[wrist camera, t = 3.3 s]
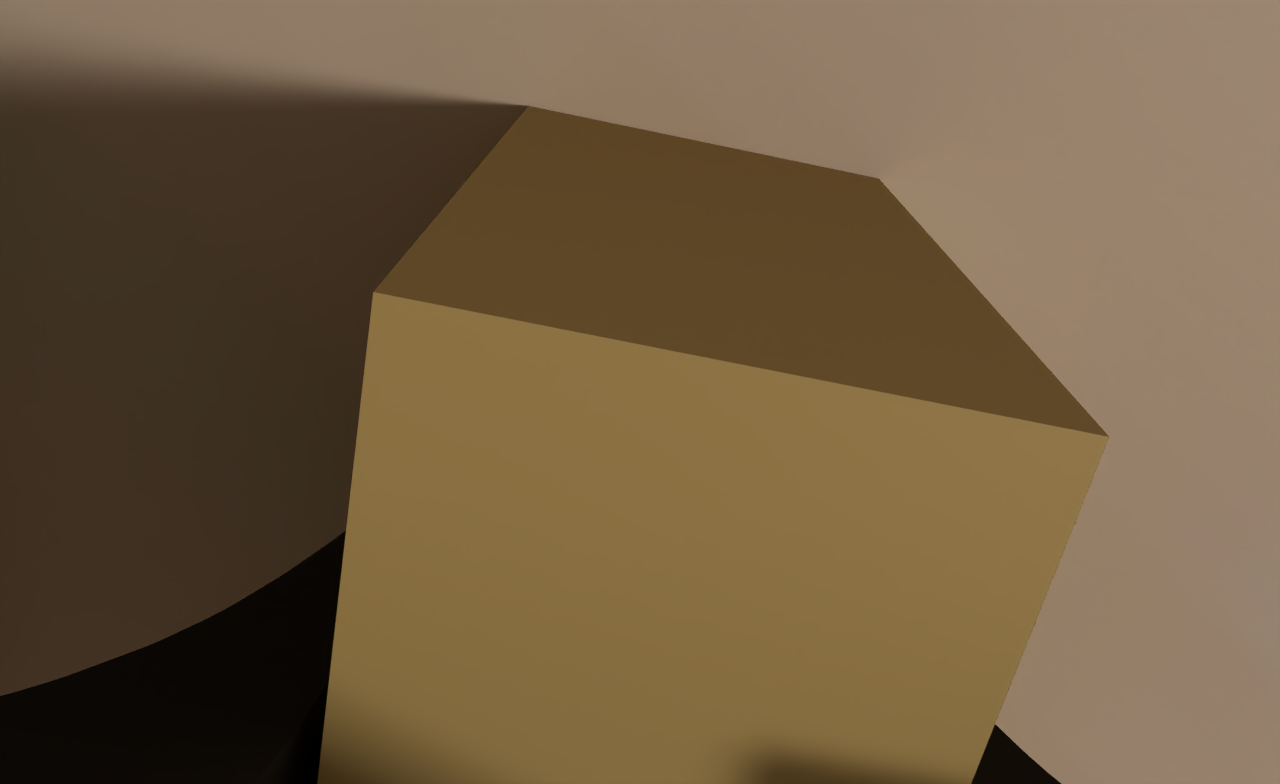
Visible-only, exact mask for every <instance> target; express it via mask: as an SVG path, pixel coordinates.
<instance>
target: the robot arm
mask: <svg viewBox="0 0 1280 784" xmlns="http://www.w3.org/2000/svg"><path fill="white" fill-rule="evenodd" d="M345 536H346V531H345V532H343V533H342V534H341V535H339V536H338V537H337V538H335V539H334V540H333V541H331V542H330V543H328V544H327V545H326V546H324V547H323V548H321V549H320V550H318V551H317V552H315V553H314V554H313V555H311V556H310V557H308V558H307V559H305V560H304V561H302V562H301V563H300V564H298V565H297V566H295V567H294V568H292V569H291V570H289V571H288V572H286V573H285V574H283V575H282V576H280V577H279V578H277V579H275V580H274V581H272V582H270V583H269V584H267V585H265V586H264V587H262V588H260V589H259V590H257V591H255V592H254V593H252V594H251V595H249V596H247V597H246V598H244V599H242V600H241V601H239V602H237V603H236V604H234V605H232V606H230V607H229V608H227V609H225V610H223V611H221V612H219V613H217V614H215V615H213V616H211V617H209V618H207V619H205V620H204V621H202V622H199V623H197V624H195V625H193V626H191V627H189V628H187V629H184V630H182V631H180V632H178V633H176V634H174V635H171V636H169V637H167V638H165V639H163V640H161V641H158V642H156V643H154V644H151V645H149V646H147V647H144V648H141V649H139V650H136V651H133V652H131V653H128V654H125V655H123V656H120V657H117V658H114V659H112V660H109V661H106V662H104V663H101V664H98V665H96V666H93V667H90V668H88V669H85V670H82V671H80V672H77V673H74V674H72V675H69V676H66V677H63V678H60V679H57V680H54V681H51V682H47V683H44V684H41V685H37V686H34V687H31V688H27V689H24V690H21V691H17V692H14V693H11V694H7V695H3V696H0V784H317V782H318V773H319V764H320V755H321V747H322V738H323V729H324V720H325V712H326V703H327V694H328V685H329V676H330V668H331V659H332V650H333V641H334V632H335V624H336V615H337V606H338V597H339V588H340V580H341V571H342V562H343V553H344V545H345ZM971 784H1061V783H1060V782H1058V781H1057V780H1056V779H1055V778H1054V777H1052V776H1051V775H1050V774H1049V773H1047V772H1046V771H1045V770H1044V769H1043V768H1042V767H1041V766H1040V765H1038V764H1037V763H1036V762H1035V761H1034V760H1033V759H1032V758H1030V757H1029V756H1028V755H1027V754H1026V753H1025V752H1024V751H1023V750H1022V749H1021V748H1019V747H1018V746H1017V745H1016V744H1015V743H1014V742H1013V741H1012V740H1011V739H1010V738H1009V737H1008V736H1007V735H1006V734H1005V733H1004V732H1003V731H1002V730H1001V729H1000V728H999V727H998V726H996V725H994V728H993V730H992V733H991V735H990V738H989V740H988V743H987V745H986V748H985V750H984V753H983V755H982V758H981V760H980V763H979V765H978V768H977V770H976V773H975V775H974V778H973V780H972V783H971Z"/></svg>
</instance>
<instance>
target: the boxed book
mask: <svg viewBox="0 0 1280 784" xmlns="http://www.w3.org/2000/svg"><path fill="white" fill-rule="evenodd" d="M1108 439H1109V436H1108V435H1107V434H1106V433H1105V432H1104V430H1103V429H1102V428H1101V427H1100V426H1099V425H1098V424H1097V423H1096V421H1095V420H1094V419H1093V418H1092V417H1091V416H1090V415H1089V414H1088V412H1087V411H1086V410H1085V409H1084V408H1083V407H1082V406H1081V405H1080V403H1079V402H1078V401H1077V400H1076V399H1075V398H1074V397H1073V396H1072V395H1071V393H1070V392H1069V391H1068V390H1067V389H1066V388H1065V387H1064V386H1063V384H1062V383H1061V382H1060V381H1059V380H1058V379H1057V378H1056V377H1055V375H1054V374H1053V373H1052V372H1051V371H1050V370H1049V369H1048V368H1047V367H1046V365H1045V364H1044V363H1043V362H1042V361H1041V360H1040V359H1039V358H1038V356H1037V355H1036V354H1035V353H1034V352H1033V351H1032V350H1031V349H1030V347H1029V346H1028V345H1027V344H1026V343H1025V342H1024V341H1023V340H1022V339H1021V337H1020V336H1019V335H1018V334H1017V333H1016V332H1015V331H1014V330H1013V328H1012V327H1011V326H1010V325H1009V324H1008V323H1007V322H1006V321H1005V319H1004V318H1003V317H1002V316H1001V315H1000V314H999V313H998V312H997V311H996V309H995V308H994V307H993V306H992V305H991V304H990V303H989V302H988V300H987V299H986V298H985V297H984V296H983V295H982V294H981V293H980V291H979V290H978V289H977V288H976V287H975V286H974V285H973V284H972V282H971V281H970V280H969V279H968V278H967V277H966V276H965V275H964V274H963V272H962V271H961V270H960V269H959V268H958V267H957V266H956V265H955V263H954V262H953V261H952V260H951V259H950V258H949V257H948V256H947V254H946V253H945V252H944V251H943V250H942V249H941V248H940V247H939V246H938V244H937V243H936V242H935V241H934V240H933V239H932V238H931V237H930V235H929V234H928V233H927V232H926V231H925V230H924V229H923V228H922V226H921V225H920V224H919V223H918V222H917V221H916V220H915V219H914V218H913V216H912V215H911V214H910V213H909V212H908V211H907V210H906V209H905V207H904V206H903V205H902V204H901V203H900V202H899V201H898V200H897V198H896V197H895V196H894V195H893V194H892V193H891V192H890V191H889V189H888V188H887V187H886V186H885V185H884V184H883V183H882V182H881V181H880V179H877V178H873V177H868V176H863V175H858V174H853V173H848V172H844V171H839V170H834V169H829V168H824V167H820V166H815V165H810V164H805V163H800V162H795V161H791V160H786V159H781V158H776V157H771V156H767V155H762V154H757V153H752V152H747V151H742V150H738V149H733V148H728V147H723V146H718V145H714V144H709V143H704V142H699V141H694V140H689V139H685V138H680V137H675V136H670V135H665V134H661V133H656V132H651V131H646V130H641V129H636V128H632V127H627V126H622V125H617V124H612V123H608V122H603V121H598V120H593V119H588V118H584V117H579V116H574V115H569V114H564V113H559V112H555V111H550V110H545V109H540V108H535V107H531V106H528V107H527V108H526V110H525V111H524V112H523V113H522V114H521V116H520V117H519V118H518V119H517V120H516V122H515V123H514V124H513V125H512V126H511V128H510V129H509V130H508V131H507V132H506V133H505V135H504V136H503V137H502V138H501V139H500V141H499V142H498V143H497V144H496V145H495V147H494V148H493V149H492V150H491V151H490V153H489V154H488V155H487V156H486V157H485V159H484V160H483V161H482V162H481V163H480V165H479V166H478V167H477V168H476V169H475V171H474V172H473V173H472V174H471V175H470V177H469V178H468V179H467V180H466V181H465V183H464V184H463V185H462V186H461V187H460V189H459V190H458V191H457V192H456V193H455V195H454V196H453V197H452V198H451V199H450V201H449V202H448V203H447V204H446V205H445V207H444V208H443V209H442V210H441V211H440V213H439V214H438V215H437V216H436V217H435V219H434V220H433V221H432V222H431V223H430V225H429V226H428V227H427V228H426V229H425V231H424V232H423V233H422V234H421V235H420V237H419V238H418V239H417V240H416V241H415V243H414V244H413V245H412V246H411V247H410V249H409V250H408V251H407V252H406V253H405V255H404V256H403V257H402V258H401V259H400V261H399V262H398V263H397V264H396V265H395V267H394V268H393V269H392V270H391V271H390V273H389V274H388V275H387V276H386V277H385V279H384V280H383V281H382V282H381V283H380V285H379V286H378V287H377V288H376V289H375V291H374V292H373V299H372V307H371V316H370V325H369V334H368V342H367V351H366V360H365V369H364V378H363V386H362V395H361V404H360V413H359V422H358V430H357V439H356V448H355V457H354V465H353V474H352V483H351V492H350V501H349V509H348V518H347V527H346V536H345V545H344V553H343V562H342V571H341V580H340V588H339V597H338V606H337V615H336V624H335V632H334V641H333V650H332V659H331V668H330V676H329V685H328V694H327V703H326V712H325V720H324V729H323V738H322V747H321V755H320V764H319V773H318V782H317V784H971V783H972V780H973V778H974V775H975V773H976V770H977V768H978V765H979V763H980V760H981V758H982V755H983V753H984V750H985V748H986V745H987V743H988V740H989V738H990V735H991V733H992V730H993V728H994V725H995V723H996V720H997V718H998V715H999V713H1000V710H1001V708H1002V705H1003V702H1004V700H1005V697H1006V695H1007V692H1008V690H1009V687H1010V685H1011V682H1012V680H1013V677H1014V675H1015V672H1016V670H1017V667H1018V665H1019V662H1020V660H1021V657H1022V655H1023V652H1024V650H1025V647H1026V645H1027V642H1028V640H1029V637H1030V635H1031V632H1032V630H1033V627H1034V625H1035V622H1036V620H1037V617H1038V615H1039V612H1040V610H1041V607H1042V605H1043V602H1044V600H1045V597H1046V595H1047V592H1048V590H1049V587H1050V585H1051V582H1052V580H1053V577H1054V575H1055V572H1056V570H1057V567H1058V565H1059V562H1060V560H1061V557H1062V554H1063V552H1064V549H1065V547H1066V544H1067V542H1068V539H1069V537H1070V534H1071V532H1072V529H1073V527H1074V524H1075V522H1076V519H1077V517H1078V514H1079V512H1080V509H1081V507H1082V504H1083V502H1084V499H1085V497H1086V494H1087V492H1088V489H1089V487H1090V484H1091V482H1092V479H1093V477H1094V474H1095V472H1096V469H1097V467H1098V464H1099V462H1100V459H1101V457H1102V454H1103V452H1104V449H1105V447H1106V444H1107V442H1108Z"/></svg>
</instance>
